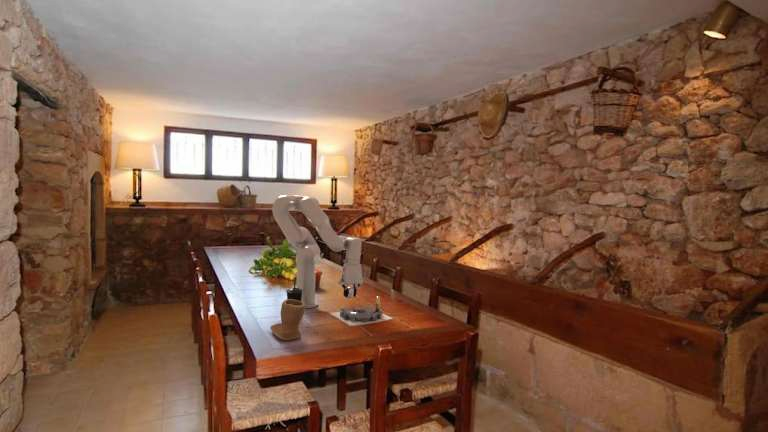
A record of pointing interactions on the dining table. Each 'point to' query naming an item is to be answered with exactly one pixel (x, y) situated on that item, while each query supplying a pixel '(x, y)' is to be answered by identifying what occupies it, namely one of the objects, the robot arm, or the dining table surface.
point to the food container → (317, 278)
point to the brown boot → (289, 320)
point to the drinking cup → (294, 292)
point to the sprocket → (362, 312)
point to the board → (356, 323)
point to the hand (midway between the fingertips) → (349, 296)
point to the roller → (350, 292)
